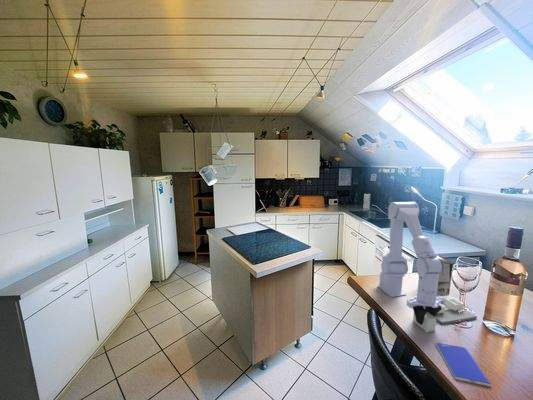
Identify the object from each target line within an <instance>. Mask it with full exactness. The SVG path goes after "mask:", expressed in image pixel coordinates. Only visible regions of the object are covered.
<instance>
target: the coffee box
mask: <svg viewBox="0 0 533 400" xmlns="http://www.w3.org/2000/svg"><path fill="white" fill-rule="evenodd" d="M438 256H439V257H440V258H441V259H442V260H443V263H444V271H443V272H442V273H439V279H438V288H437V296H447V295H450V289H451V283H452V282H451V281H452V272H453V266H454V263H452V262H451V261H450V260H448V259H446V258H444V257H443V256H441V255H438Z"/></svg>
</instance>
